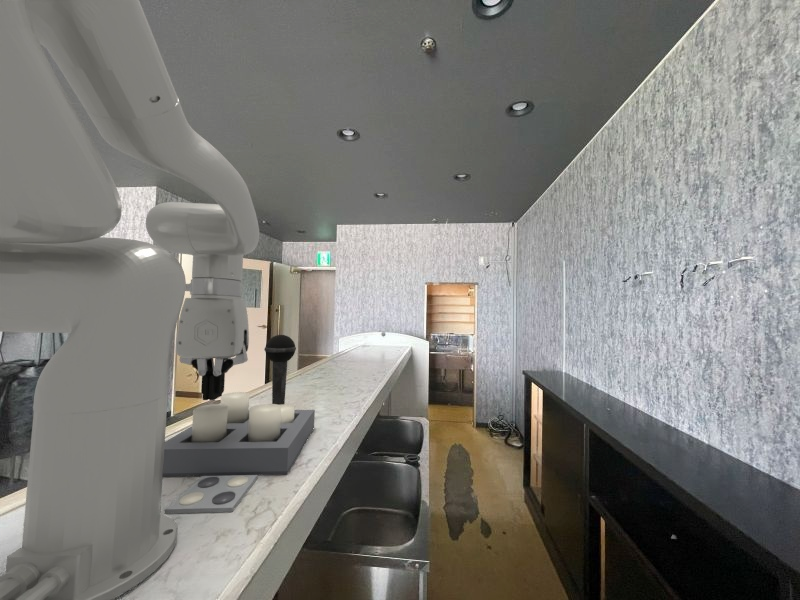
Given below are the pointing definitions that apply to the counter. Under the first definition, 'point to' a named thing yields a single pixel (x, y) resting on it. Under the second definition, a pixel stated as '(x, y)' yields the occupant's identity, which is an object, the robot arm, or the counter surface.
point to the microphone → (279, 364)
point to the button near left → (209, 423)
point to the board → (238, 451)
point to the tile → (213, 494)
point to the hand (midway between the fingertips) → (212, 397)
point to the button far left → (236, 406)
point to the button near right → (264, 423)
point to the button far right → (287, 413)
